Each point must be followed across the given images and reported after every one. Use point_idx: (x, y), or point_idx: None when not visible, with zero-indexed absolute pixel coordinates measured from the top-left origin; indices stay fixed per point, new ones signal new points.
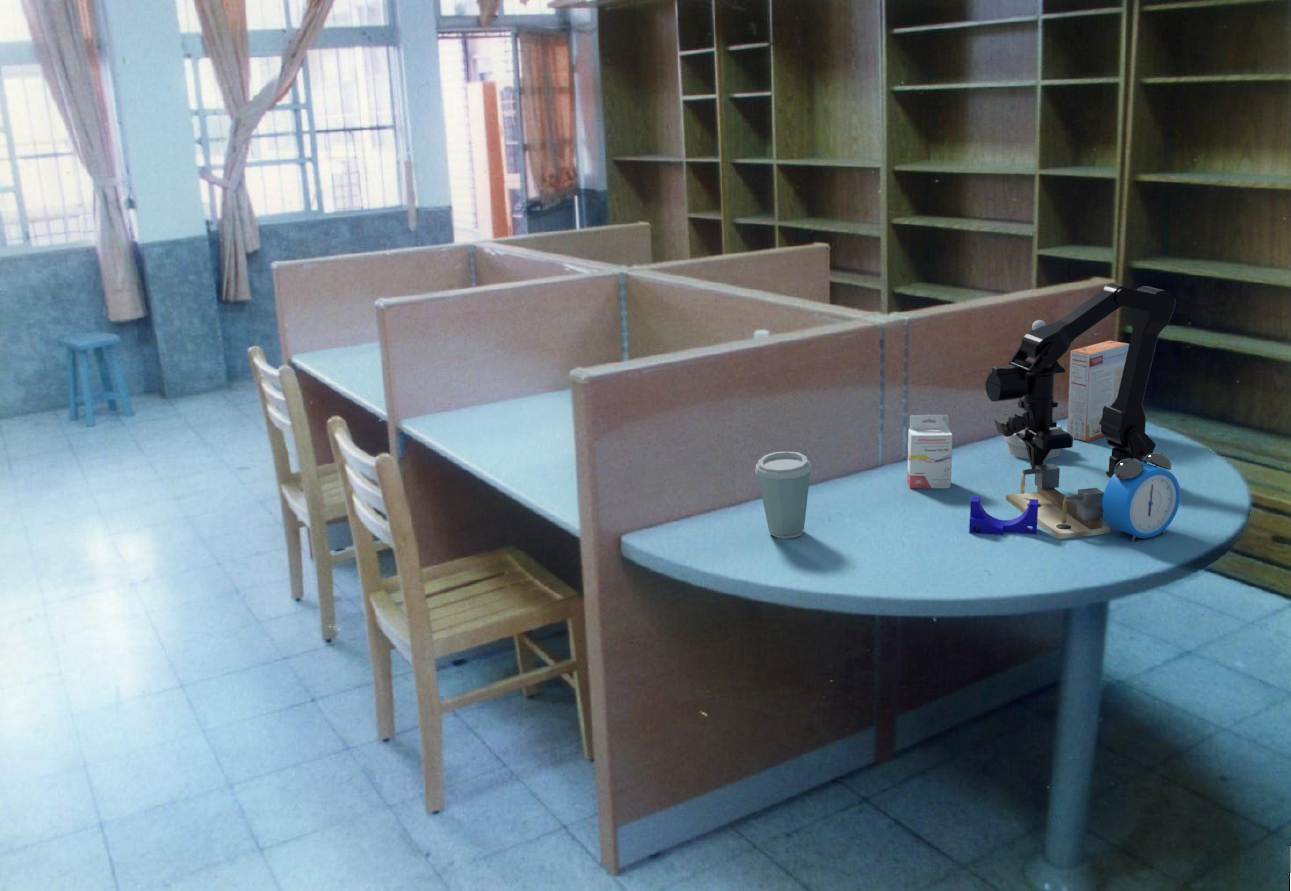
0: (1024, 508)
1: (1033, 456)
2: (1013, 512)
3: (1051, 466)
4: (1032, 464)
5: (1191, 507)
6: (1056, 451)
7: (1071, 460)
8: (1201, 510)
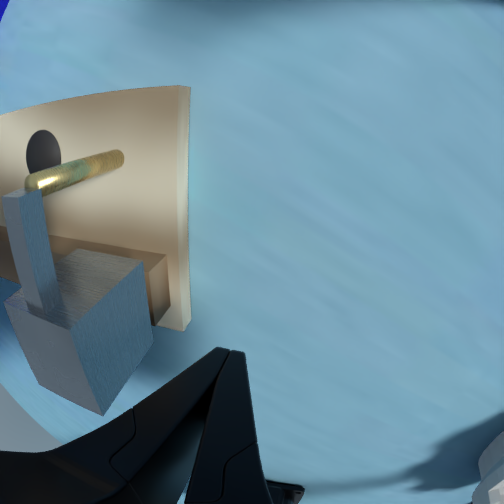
0: (29, 108)
1: (128, 411)
2: (59, 69)
3: (61, 382)
4: (209, 372)
5: None
6: (480, 473)
7: (435, 476)
8: (75, 438)
